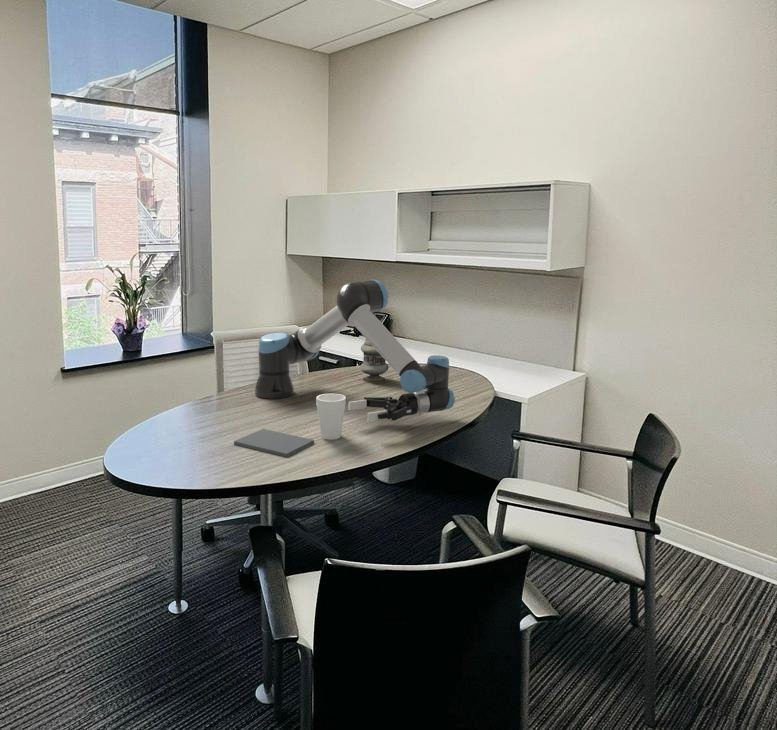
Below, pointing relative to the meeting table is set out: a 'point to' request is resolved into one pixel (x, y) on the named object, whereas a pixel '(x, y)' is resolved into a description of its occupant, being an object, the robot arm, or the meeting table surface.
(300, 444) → the rubber mat
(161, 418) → the meeting table surface
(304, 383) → the meeting table surface
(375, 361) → the apothecary jar
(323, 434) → the foam cup
